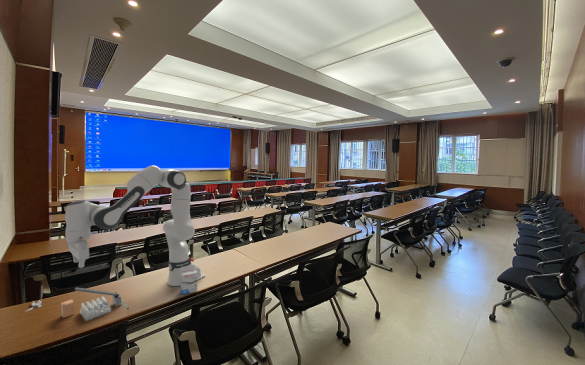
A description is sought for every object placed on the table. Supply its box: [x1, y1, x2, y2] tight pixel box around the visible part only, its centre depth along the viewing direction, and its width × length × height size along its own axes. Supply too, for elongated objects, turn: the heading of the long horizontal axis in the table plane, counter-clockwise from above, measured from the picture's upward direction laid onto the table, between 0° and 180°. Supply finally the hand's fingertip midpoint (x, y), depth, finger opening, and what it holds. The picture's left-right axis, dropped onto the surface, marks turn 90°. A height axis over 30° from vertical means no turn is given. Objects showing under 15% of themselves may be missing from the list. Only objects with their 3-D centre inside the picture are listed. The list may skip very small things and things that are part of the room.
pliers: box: [25, 299, 42, 312], centre depth 127 cm, size 10×2×15 cm
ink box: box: [180, 264, 198, 295], centre depth 146 cm, size 8×5×15 cm, turn 123°
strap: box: [74, 287, 120, 297], centre depth 123 cm, size 19×4×1 cm, turn 142°
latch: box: [60, 298, 75, 319], centre depth 120 cm, size 4×6×7 cm, turn 52°
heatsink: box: [79, 294, 122, 322], centre depth 125 cm, size 15×10×5 cm, turn 142°
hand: (78, 264), depth 117 cm, fingers open, 8 cm apart
